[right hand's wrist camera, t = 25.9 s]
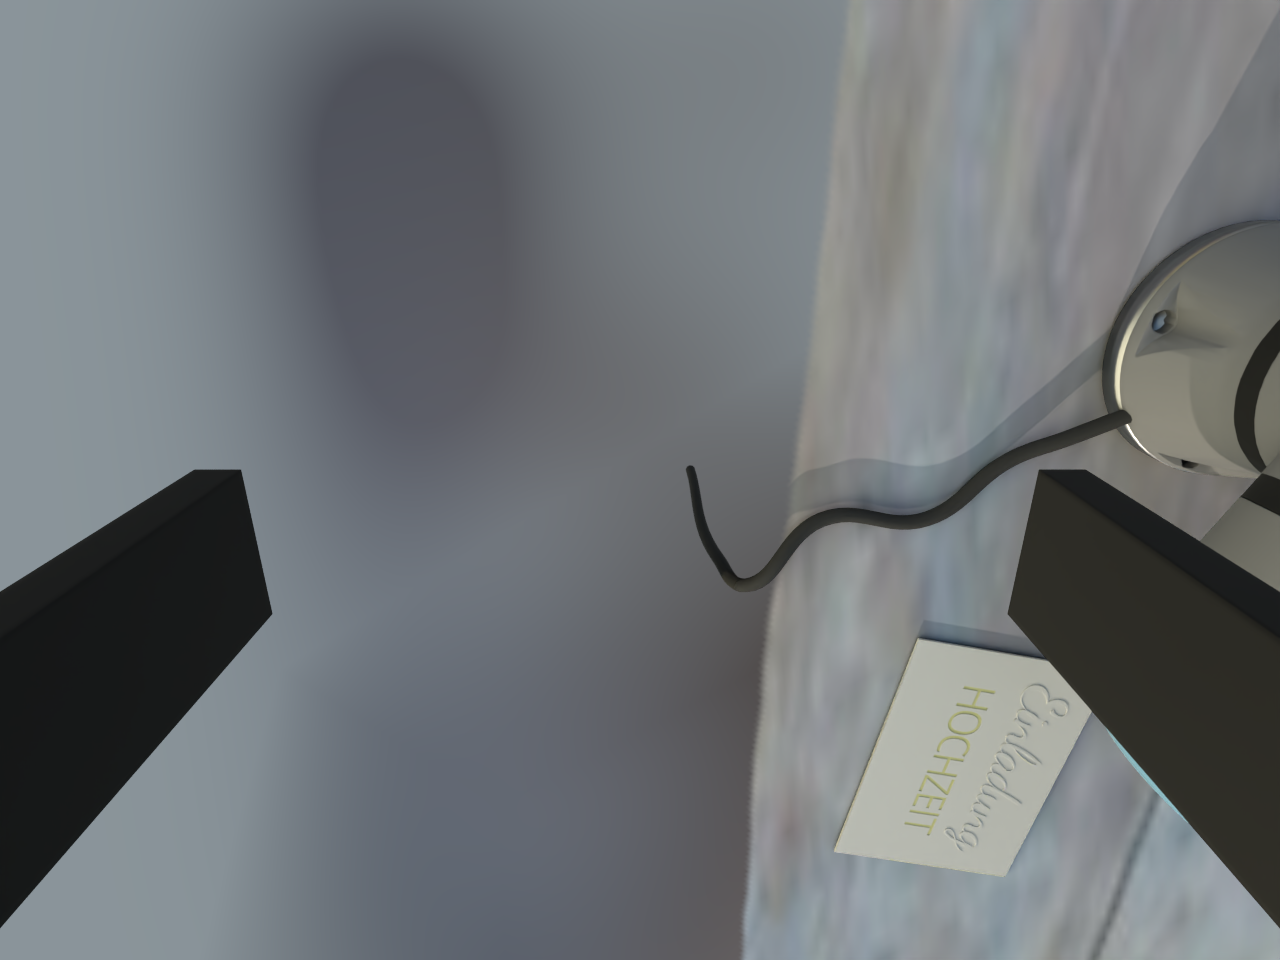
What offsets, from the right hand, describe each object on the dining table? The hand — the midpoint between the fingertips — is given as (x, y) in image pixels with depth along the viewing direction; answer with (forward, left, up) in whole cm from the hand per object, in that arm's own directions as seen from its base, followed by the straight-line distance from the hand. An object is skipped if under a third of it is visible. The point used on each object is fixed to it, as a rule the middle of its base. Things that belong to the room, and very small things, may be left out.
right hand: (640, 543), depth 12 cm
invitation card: (+7, -44, -34) cm, 56 cm away
